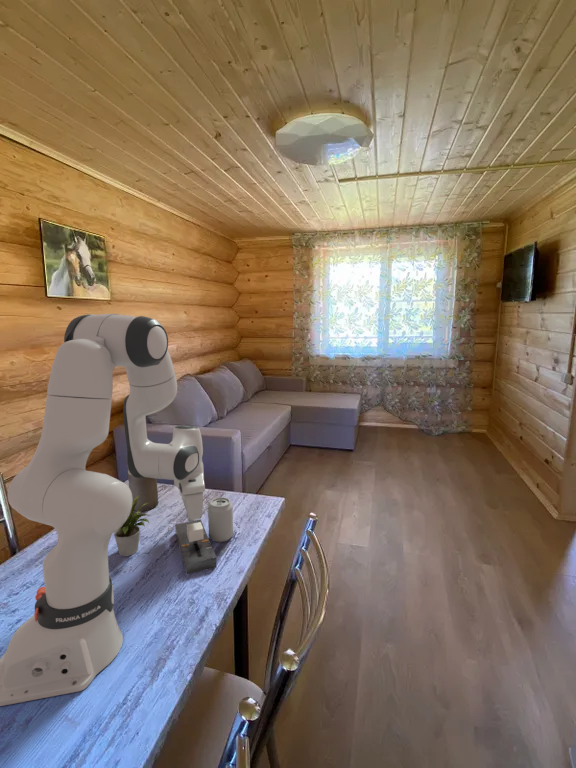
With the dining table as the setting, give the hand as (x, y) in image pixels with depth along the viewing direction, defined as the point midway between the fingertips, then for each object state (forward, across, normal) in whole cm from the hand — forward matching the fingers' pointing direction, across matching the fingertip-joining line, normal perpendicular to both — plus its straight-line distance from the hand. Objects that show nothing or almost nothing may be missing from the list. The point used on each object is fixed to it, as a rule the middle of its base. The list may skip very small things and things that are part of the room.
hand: (190, 519), depth 118 cm
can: (+7, +3, +9) cm, 11 cm away
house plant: (+7, 0, -19) cm, 20 cm away
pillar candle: (+7, -29, -12) cm, 32 cm away
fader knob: (+3, +8, 0) cm, 9 cm away
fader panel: (+6, +6, 0) cm, 9 cm away
